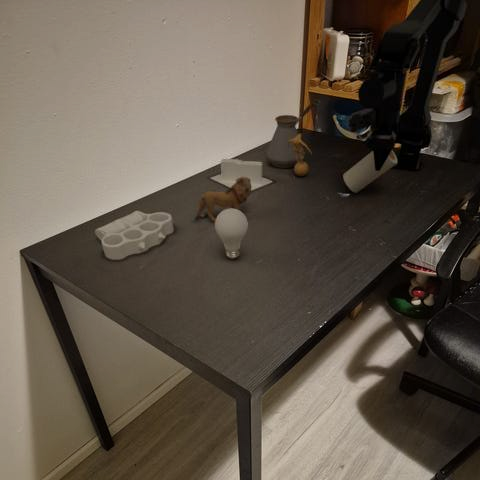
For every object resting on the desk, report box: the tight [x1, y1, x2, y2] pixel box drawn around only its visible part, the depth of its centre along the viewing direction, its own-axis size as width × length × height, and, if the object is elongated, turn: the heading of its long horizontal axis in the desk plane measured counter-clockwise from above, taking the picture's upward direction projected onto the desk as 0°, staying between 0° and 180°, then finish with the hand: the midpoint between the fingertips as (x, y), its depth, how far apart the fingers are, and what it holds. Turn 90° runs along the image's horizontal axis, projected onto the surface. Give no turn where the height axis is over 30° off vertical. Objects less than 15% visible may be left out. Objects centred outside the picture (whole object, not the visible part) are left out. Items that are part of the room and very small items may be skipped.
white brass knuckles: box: [94, 210, 175, 261], centre depth 95 cm, size 3×18×15 cm
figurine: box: [287, 133, 313, 177], centre depth 116 cm, size 8×6×12 cm
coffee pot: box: [265, 98, 321, 169], centre depth 126 cm, size 21×12×15 cm, turn 138°
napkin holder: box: [210, 158, 274, 192], centre depth 118 cm, size 15×11×6 cm
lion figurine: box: [194, 176, 252, 222], centre depth 101 cm, size 15×5×9 cm, turn 110°
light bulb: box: [214, 207, 249, 260], centre depth 86 cm, size 7×7×11 cm
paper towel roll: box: [342, 149, 398, 194], centre depth 107 cm, size 6×12×6 cm
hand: (379, 165), depth 105 cm, fingers closed on paper towel roll, 6 cm apart
